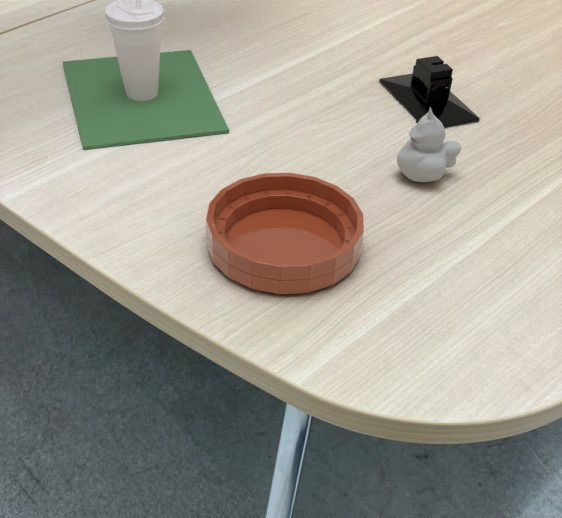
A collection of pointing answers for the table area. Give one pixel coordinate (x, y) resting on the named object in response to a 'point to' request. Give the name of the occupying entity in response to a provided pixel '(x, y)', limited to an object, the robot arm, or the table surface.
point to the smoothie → (137, 44)
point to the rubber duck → (427, 151)
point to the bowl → (284, 232)
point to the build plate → (430, 93)
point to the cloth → (141, 103)
